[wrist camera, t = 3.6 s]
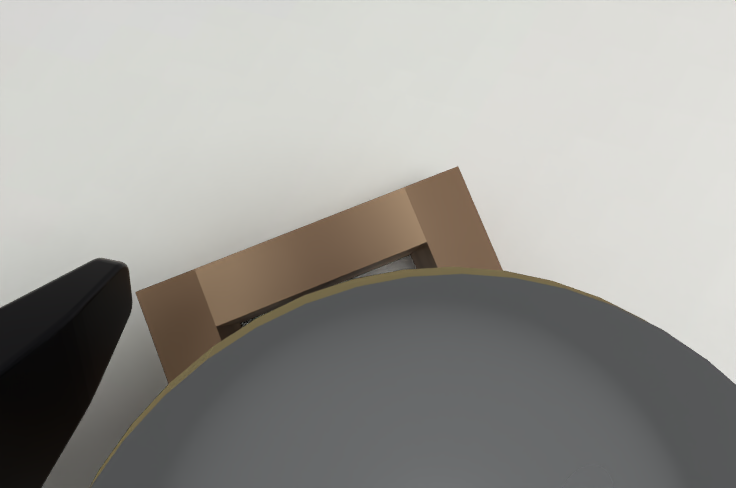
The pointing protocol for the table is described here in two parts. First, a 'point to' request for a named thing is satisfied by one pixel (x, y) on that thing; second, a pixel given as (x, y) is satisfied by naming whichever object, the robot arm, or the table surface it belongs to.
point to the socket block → (315, 264)
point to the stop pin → (438, 395)
